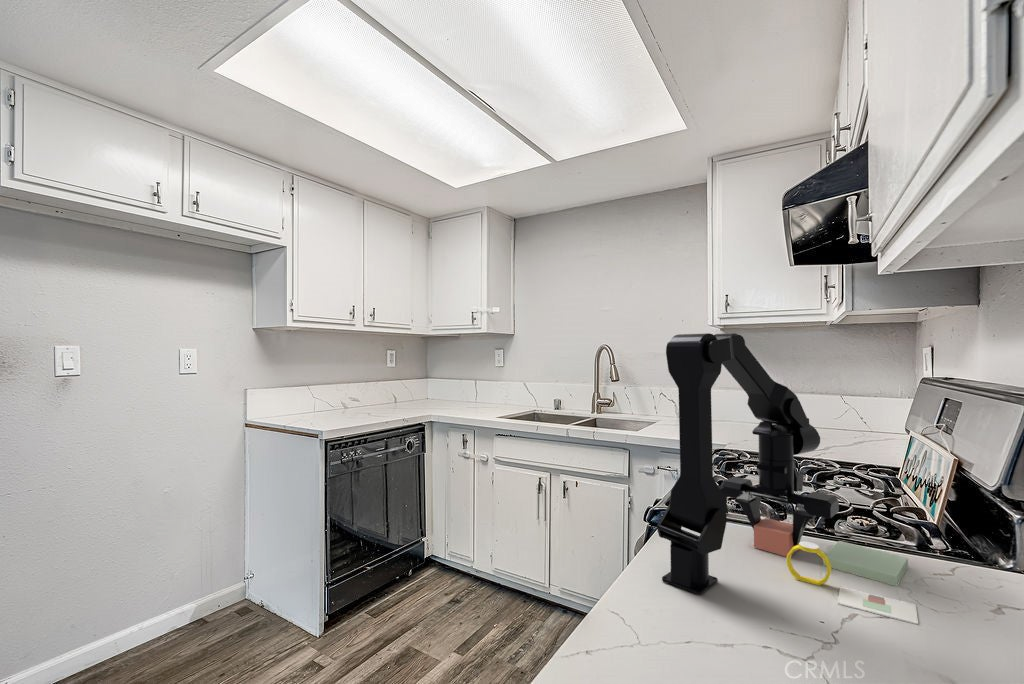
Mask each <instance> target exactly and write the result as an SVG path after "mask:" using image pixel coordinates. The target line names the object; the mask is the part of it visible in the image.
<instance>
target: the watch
mask: <svg viewBox="0 0 1024 684" xmlns="http://www.w3.org/2000/svg"><path fill="white" fill-rule="evenodd" d="M795 550H797V551H799V550H801V551H804V552H807V553H812V554H817V555H818V556H819V557H820V558H821V559H822V561H823V560H824V562H825V564H826V565H827V566H826V572H827V573H826V575H825V576H824V577H823V578H821V579H819V580H817V579H814V578H810V577H807V576H803V575H801V574H800V573H798V572H797V571H796V569H794V566H793V563H792V561H791V560H792V555H791V554H792V553H793V552H794V551H795ZM825 554H826V553H825V552H824V551H822V550H821V549H820V546H819V545H818V544H816V543H813V542H810V541H800V542H799V545H797V546H794V547H793V548H792V549H791V550H790V552H789V553H788V555H787V556H786V566H787V568H788V571H789V572H790V574H791V575H792V576H793V577H794V578H795V579H796V580H797V581H800V582H804V583H808V584H811V585H815V586H818V587H819V586H821V585H824V584H825V583H826V582H828V580H829V579H830V576H831V573H832V568H831V563H830V561H829V559H828V558H827V556H826V555H825Z"/></svg>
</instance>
